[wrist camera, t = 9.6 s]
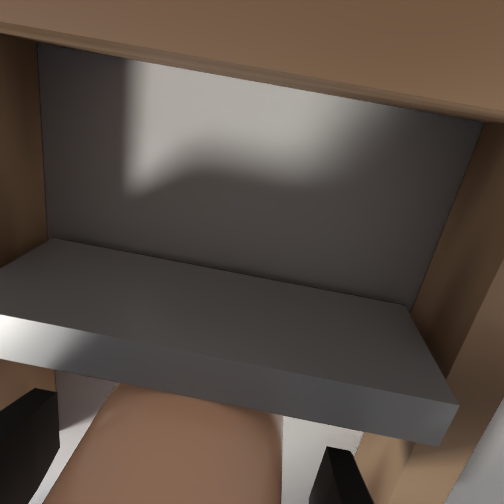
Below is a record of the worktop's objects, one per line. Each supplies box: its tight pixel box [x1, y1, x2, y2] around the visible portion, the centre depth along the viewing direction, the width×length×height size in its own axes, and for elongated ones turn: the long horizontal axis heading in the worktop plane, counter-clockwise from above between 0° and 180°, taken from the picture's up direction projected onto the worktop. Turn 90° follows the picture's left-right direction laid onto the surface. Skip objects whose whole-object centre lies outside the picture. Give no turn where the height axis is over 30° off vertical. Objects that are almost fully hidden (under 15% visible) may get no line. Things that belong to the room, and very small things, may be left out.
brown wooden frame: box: [0, 0, 504, 504], centre depth 10 cm, size 16×15×6 cm
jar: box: [42, 382, 283, 504], centre depth 10 cm, size 5×5×8 cm
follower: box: [0, 238, 460, 447], centre depth 10 cm, size 1×11×4 cm, turn 81°
